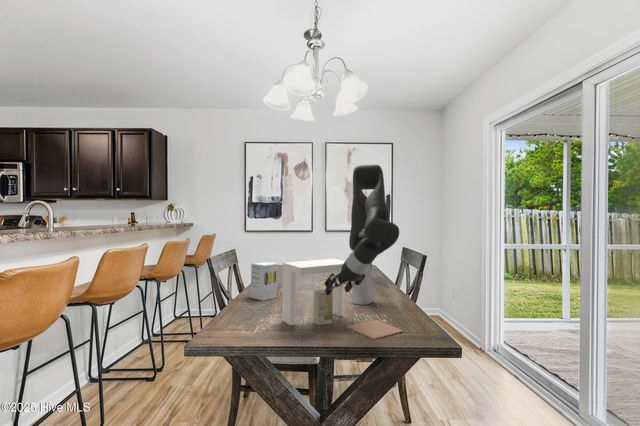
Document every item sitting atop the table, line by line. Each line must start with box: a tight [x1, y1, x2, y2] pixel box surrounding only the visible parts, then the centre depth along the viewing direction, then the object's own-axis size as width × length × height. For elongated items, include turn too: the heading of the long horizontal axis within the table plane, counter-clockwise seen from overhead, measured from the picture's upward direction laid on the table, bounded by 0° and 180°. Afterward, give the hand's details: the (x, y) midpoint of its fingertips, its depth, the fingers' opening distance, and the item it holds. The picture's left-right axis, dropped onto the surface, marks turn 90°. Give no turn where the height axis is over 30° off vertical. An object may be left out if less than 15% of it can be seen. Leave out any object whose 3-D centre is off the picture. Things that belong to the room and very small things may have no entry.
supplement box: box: [250, 261, 278, 302], centre depth 170 cm, size 10×9×17 cm
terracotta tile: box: [347, 319, 404, 340], centre depth 125 cm, size 14×14×1 cm
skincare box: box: [312, 289, 333, 326], centre depth 132 cm, size 6×4×12 cm
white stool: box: [281, 258, 346, 326], centre depth 135 cm, size 24×14×22 cm, turn 123°
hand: (336, 291), depth 125 cm, fingers open, 8 cm apart
